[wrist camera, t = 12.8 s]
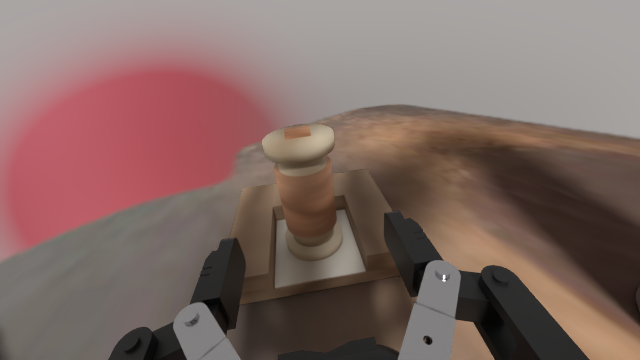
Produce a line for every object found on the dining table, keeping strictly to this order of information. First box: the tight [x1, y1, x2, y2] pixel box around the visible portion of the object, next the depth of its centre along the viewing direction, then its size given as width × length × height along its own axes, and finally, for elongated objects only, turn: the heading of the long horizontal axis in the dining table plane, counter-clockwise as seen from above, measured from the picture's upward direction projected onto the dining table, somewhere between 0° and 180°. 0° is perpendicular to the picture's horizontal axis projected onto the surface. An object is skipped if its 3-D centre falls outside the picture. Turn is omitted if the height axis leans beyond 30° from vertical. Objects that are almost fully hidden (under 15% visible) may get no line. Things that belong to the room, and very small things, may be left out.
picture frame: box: [230, 169, 400, 305], centre depth 27 cm, size 16×14×3 cm
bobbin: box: [262, 124, 343, 261], centre depth 23 cm, size 6×6×12 cm
